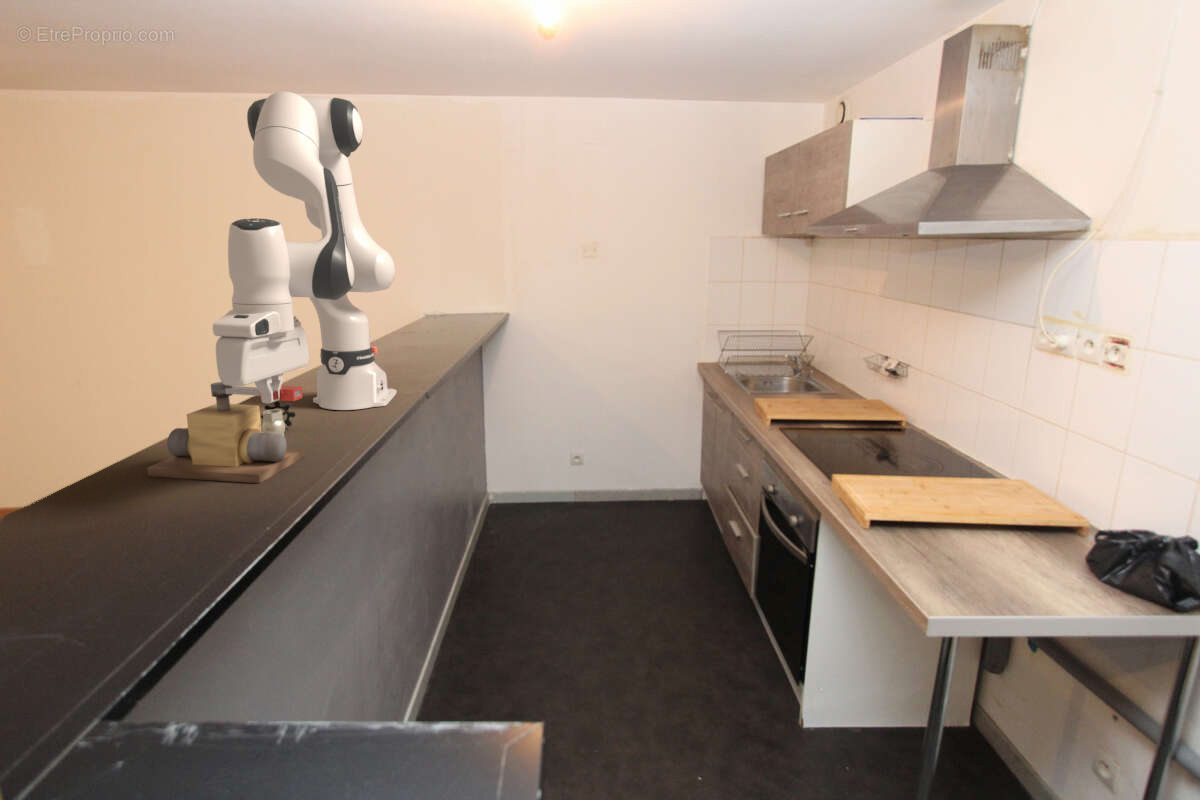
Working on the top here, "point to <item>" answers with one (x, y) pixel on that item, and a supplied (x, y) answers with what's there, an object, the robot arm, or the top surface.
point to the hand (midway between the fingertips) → (271, 401)
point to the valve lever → (255, 391)
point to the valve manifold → (225, 446)
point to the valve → (276, 418)
